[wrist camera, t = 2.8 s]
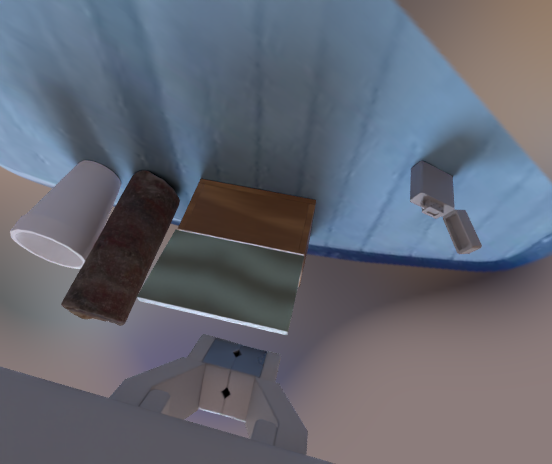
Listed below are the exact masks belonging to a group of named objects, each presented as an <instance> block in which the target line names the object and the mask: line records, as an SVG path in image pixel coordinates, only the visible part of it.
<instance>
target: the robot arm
mask: <svg viewBox="0 0 552 464" xmlns="http://www.w3.org/2000/svg"><path fill="white" fill-rule="evenodd" d="M280 358H281V355H280V354H277V353H273V352H267V351H264V350H259V349H255V348H251V347H247V346H243V345H241V344H237V343H234V342H230V341H227V340H224V339H220V338H216V337H213V336H209V335H205V334H203V335H202V336H201V337H200V339H199V340H198V342H197V343H196V345H195V346H194V348H193V349H192V351H191V353H190V354H189V355H188V357H187V358H184V357H182V358H180V359H177V360H174V361H172V362H169V363H167V364H164V365H161V366H159V367H156V368H153V369H151V370H148V371H146V372H143V373H141V374H138V375H136V376H133V377H130V378H127V379H125V380H124V381H123V382H122V384H121V385H120V386H119V387H118V388H117V389H116V390H115V392H114V393H113V394H112V395H111V396H110V397H109V398H106V397H103V396H100V395H96V394H93V393H90V392H86V391H82V390H79V389H76V388H72V387H69V386H65V385H62V384H58V383H55V382H51V381H48V380H45V379H41V378H37V377H34V376H30V375H27V374H24V373H21V372H17V371H14V370H10V369H7V368H3V367H0V464H335V463H331V462H328V461H324V460H321V459H317V458H313V457H310V456H307V455H306V451H307V436H308V431H307V429H306V428H305V426H304V424H303V423H302V421H301V419H300V418H299V416H298V414H297V413H296V411H295V409H294V408H293V406H292V404H291V403H290V401H289V399H288V398H287V396H286V394H285V393H284V391H283V389H282V388H281V386H280V384H279V383H276V382H275V381H276V376H277V372H278V367H279V362H280ZM198 409H200V410H204V411H208V412H213V413H216V414H220V415H224V416H227V417H230V418H233V419H236V420H239V421H242V422H245V425H246V428H247V431H248V435H249V438H250V439H248V438H245V437H241V436H238V435H234V434H231V433H227V432H224V431H221V430H217V429H214V428H210V427H207V426H203V425H200V424H196V423H193V422H189V421H186V420H184V419H186V418H187V417H189V416H190V415H191V414H193V413H194V412H196V411H197V410H198Z"/></svg>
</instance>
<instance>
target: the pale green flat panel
mask: <svg viewBox="0 0 552 464" xmlns="http://www.w3.org/2000/svg"><path fill="white" fill-rule="evenodd" d="M303 261H304V256H303V255H298V254H293V253H288V252H283V251H278V250H273V249H269V248H264V247H259V246H254V245H249V244H244V243H239V242H234V241H229V240H224V239H220V238H215V237H210V236H205V235H200V234H195V233H190V232H185V231H180V230H175V232H174V233H173V235H172V237H171V239H170V240H169V242H168V244H167V245H166V247H165V249H164V251H163V252H162V254H161V256H160V257H159V259H158V261H157V263H156V265H155V266H154V268H153V270H152V271H151V273H150V275H149V276H148V278H147V280H146V282H145V283H144V285H143V287H142V289H141V290H140V292H139V294H138V295H137V298H138V300H139V301H142V302H146V303H151V304H155V305H159V306H164V307H168V308H172V309H177V310H181V311H185V312H189V313H194V314H198V315H202V316H207V317H211V318H215V319H219V320H224V321H228V322H232V323H237V324H241V325H245V326H250V327H255V328H258V329H263V330H267V331H271V332H275V333H280V334H284V335H287V334H288V330H289V325H290V321H291V316H292V312H293V307H294V302H295V297H296V293H297V289H298V284H299V279H300V275H301V270H302V266H303Z"/></svg>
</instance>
